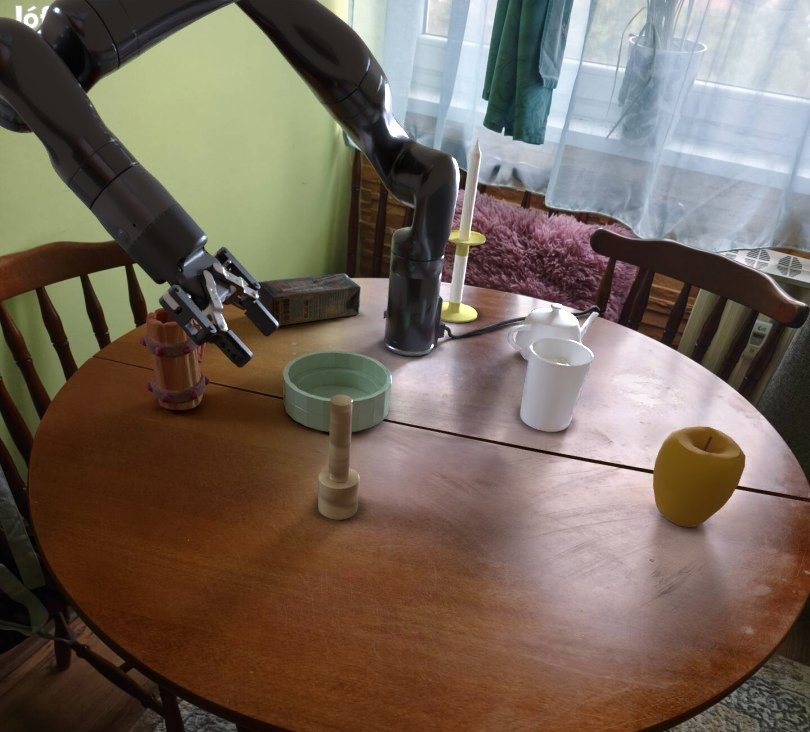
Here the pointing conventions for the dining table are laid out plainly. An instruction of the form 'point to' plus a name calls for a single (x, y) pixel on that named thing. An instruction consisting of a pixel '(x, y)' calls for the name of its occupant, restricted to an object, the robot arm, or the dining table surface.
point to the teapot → (547, 328)
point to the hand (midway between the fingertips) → (261, 346)
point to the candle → (464, 246)
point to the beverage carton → (310, 298)
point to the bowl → (336, 388)
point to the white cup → (554, 382)
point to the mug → (174, 362)
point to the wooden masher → (339, 465)
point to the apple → (696, 474)
